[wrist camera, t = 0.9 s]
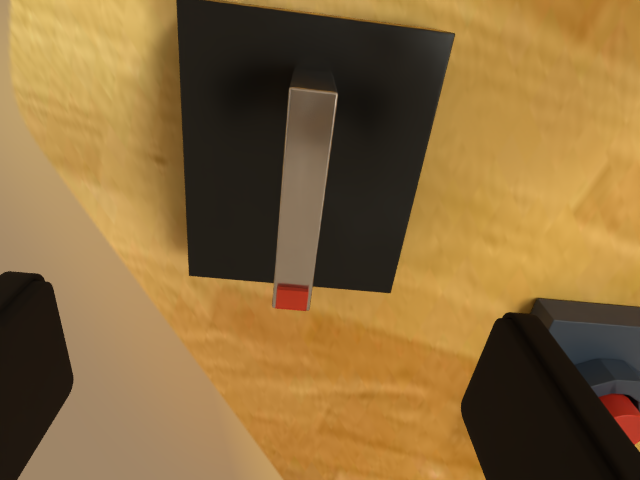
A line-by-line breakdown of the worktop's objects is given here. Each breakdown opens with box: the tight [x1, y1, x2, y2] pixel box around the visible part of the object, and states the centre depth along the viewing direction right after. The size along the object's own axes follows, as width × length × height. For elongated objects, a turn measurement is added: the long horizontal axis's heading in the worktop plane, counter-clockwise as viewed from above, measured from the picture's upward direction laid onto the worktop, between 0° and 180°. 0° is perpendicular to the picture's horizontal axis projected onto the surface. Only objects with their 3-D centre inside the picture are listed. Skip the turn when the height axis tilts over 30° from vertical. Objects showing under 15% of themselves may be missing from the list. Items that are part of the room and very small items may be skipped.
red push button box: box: [530, 298, 640, 412], centre depth 29 cm, size 12×10×4 cm
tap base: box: [176, 0, 455, 293], centre depth 21 cm, size 13×11×3 cm
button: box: [599, 393, 640, 445], centre depth 27 cm, size 4×4×2 cm
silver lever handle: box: [272, 68, 338, 311], centre depth 17 cm, size 9×2×5 cm, turn 173°
